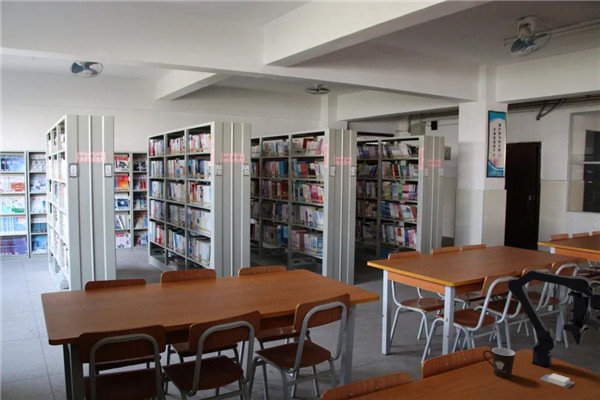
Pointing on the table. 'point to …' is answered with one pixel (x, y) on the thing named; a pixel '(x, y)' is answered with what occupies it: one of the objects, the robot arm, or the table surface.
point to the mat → (545, 378)
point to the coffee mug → (502, 361)
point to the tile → (558, 380)
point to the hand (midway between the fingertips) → (578, 344)
